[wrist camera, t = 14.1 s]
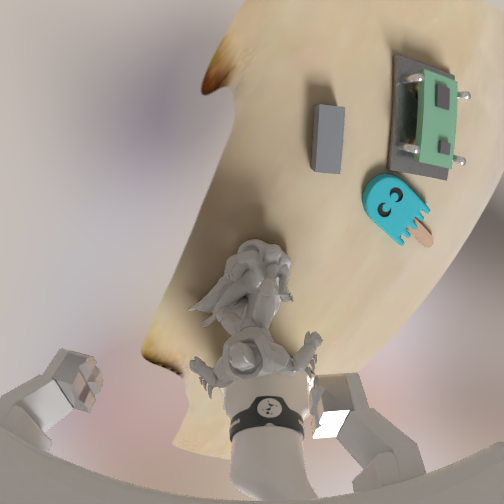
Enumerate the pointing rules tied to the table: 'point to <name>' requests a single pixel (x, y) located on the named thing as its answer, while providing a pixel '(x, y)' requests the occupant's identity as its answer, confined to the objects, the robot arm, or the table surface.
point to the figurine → (251, 318)
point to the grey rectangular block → (327, 138)
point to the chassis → (411, 119)
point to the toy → (396, 208)
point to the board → (436, 119)
